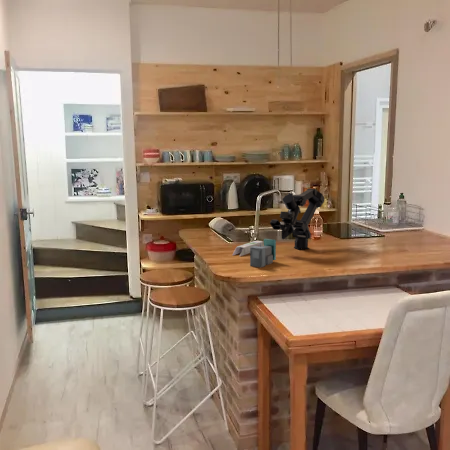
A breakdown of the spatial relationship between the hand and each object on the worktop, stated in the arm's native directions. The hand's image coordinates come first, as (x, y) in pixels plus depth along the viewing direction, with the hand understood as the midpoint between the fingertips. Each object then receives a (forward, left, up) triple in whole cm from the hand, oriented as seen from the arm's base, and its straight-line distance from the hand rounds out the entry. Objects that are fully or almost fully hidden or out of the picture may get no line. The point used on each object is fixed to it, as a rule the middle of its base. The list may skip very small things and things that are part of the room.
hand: (282, 238), depth 258 cm
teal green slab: (+16, +11, -8) cm, 22 cm away
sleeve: (+15, +11, -9) cm, 21 cm away
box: (+13, -16, -10) cm, 23 cm away
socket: (+21, +15, -9) cm, 27 cm away
